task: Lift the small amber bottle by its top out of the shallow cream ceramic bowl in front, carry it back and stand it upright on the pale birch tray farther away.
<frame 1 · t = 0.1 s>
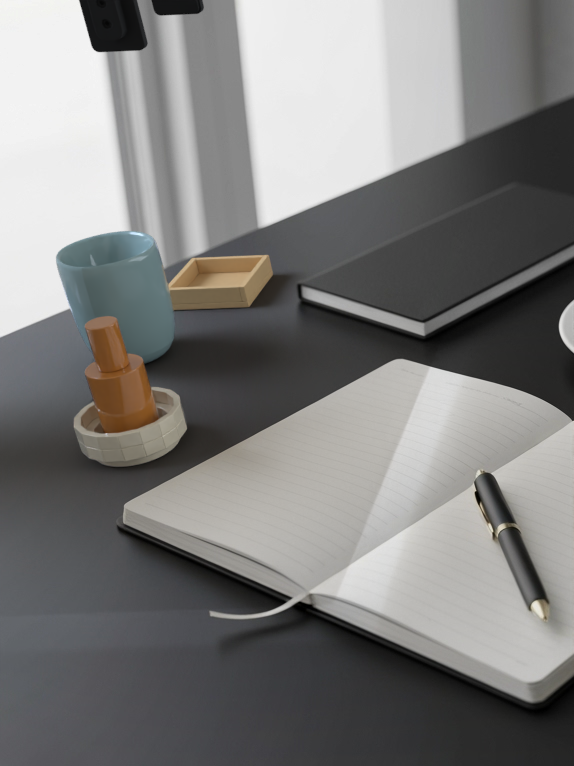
hand: (152, 30, 81), 31 cm above the table, tool pointing down, fingers open, 9 cm apart
tray: (222, 292, 121), on the table
bowl: (137, 445, 96), on the table
bottle: (135, 436, 96), point 1 cm above the table, touching bowl
cup: (137, 358, 109), on the table
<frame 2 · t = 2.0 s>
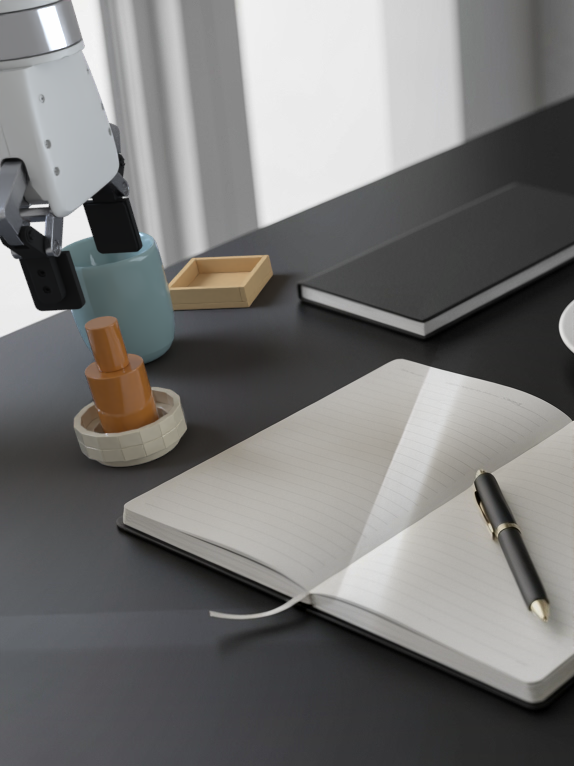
hand: (92, 278, 89), 14 cm above the table, tool pointing down, fingers open, 9 cm apart
nothing on the table moved.
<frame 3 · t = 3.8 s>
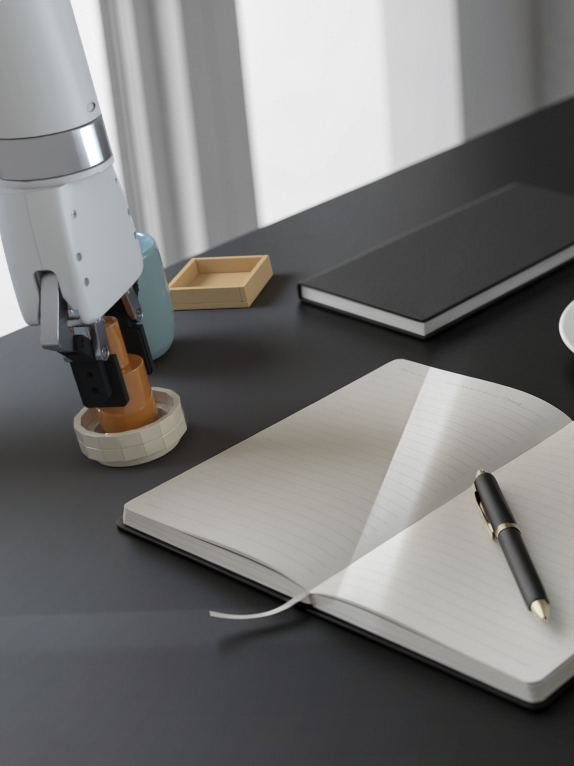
hand: (120, 387, 94), 5 cm above the table, tool pointing down, fingers closed on bottle, 4 cm apart
bottle: (135, 436, 96), point 1 cm above the table, touching bowl, gripper
everything else where it was.
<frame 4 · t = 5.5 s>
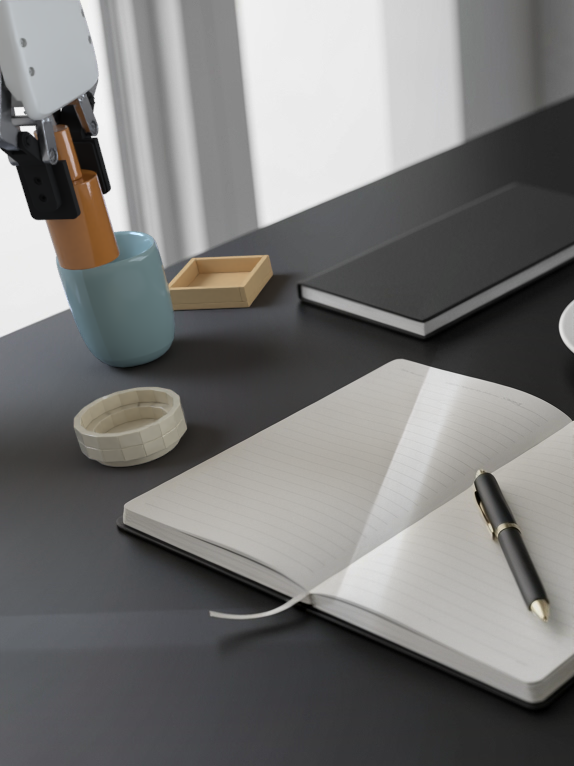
hand: (72, 202, 88), 19 cm above the table, tool pointing down, fingers closed on bottle, 4 cm apart
bottle: (90, 259, 90), point 15 cm above the table, touching gripper
everything else where it was.
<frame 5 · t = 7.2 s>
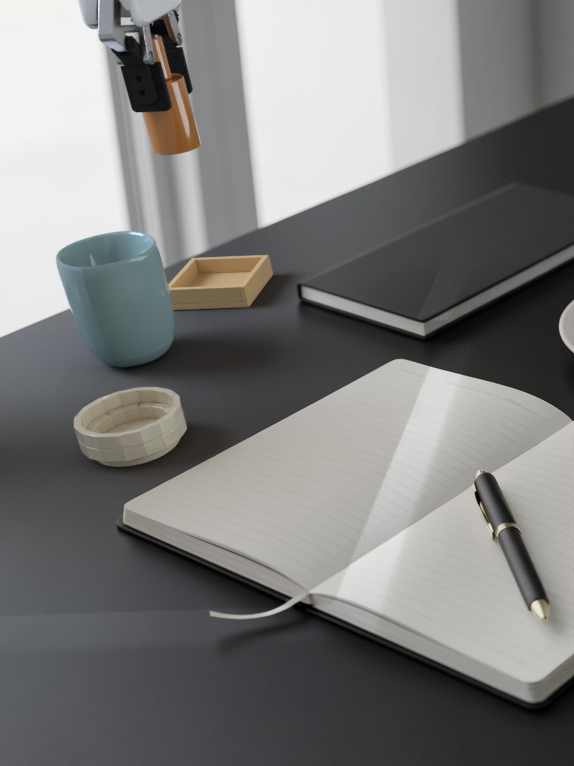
hand: (163, 100, 108), 19 cm above the table, tool pointing down, fingers closed on bottle, 4 cm apart
bottle: (177, 147, 110), point 15 cm above the table, touching gripper
everything else where it was.
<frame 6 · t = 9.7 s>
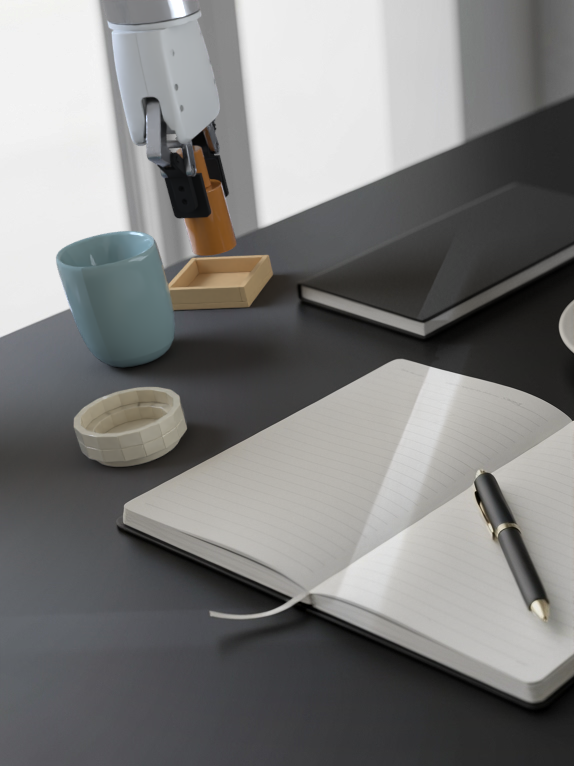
hand: (202, 205, 116), 9 cm above the table, tool pointing down, fingers closed on bottle, 4 cm apart
bottle: (214, 247, 119), point 4 cm above the table, touching gripper
everything else where it was.
when the fingers open (5 cm above the table, at t = 11.0 s): bottle stays where it is, resting on tray.
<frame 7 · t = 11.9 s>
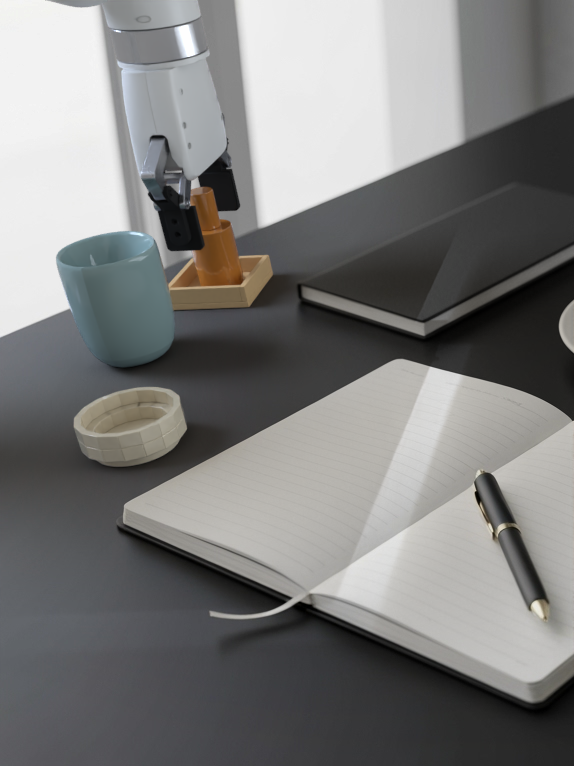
hand: (205, 229, 117), 6 cm above the table, tool pointing down, fingers open, 9 cm apart
bottle: (223, 286, 120), point 1 cm above the table, touching tray
everything else where it was.
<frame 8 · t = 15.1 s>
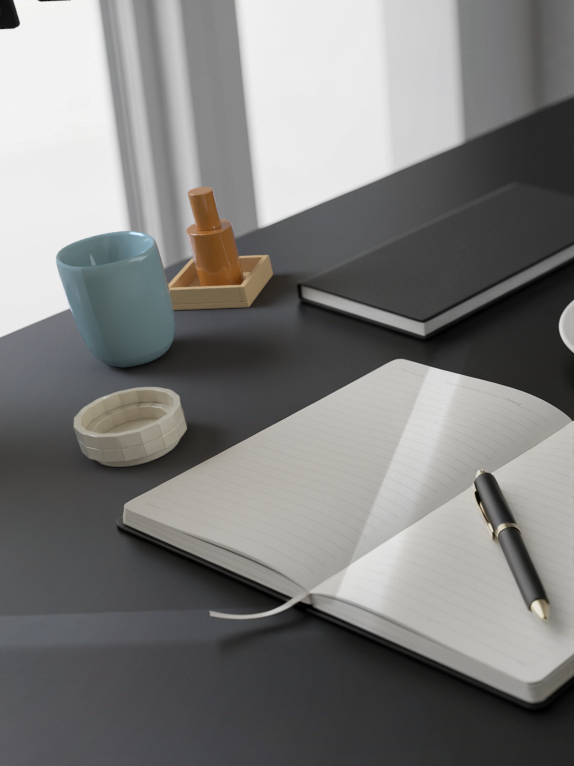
hand: (29, 13, 99), 28 cm above the table, tool pointing down, fingers open, 9 cm apart
nothing on the table moved.
at the end: bottle 0.2 cm off-centre in the tray, point 0.6 cm above the tray's base; bottle tilted 0°; the gripper is holding nothing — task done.
